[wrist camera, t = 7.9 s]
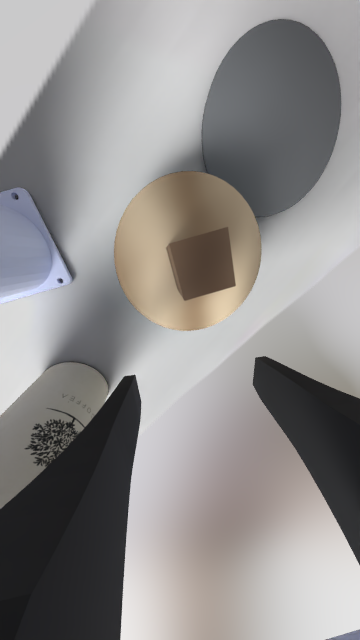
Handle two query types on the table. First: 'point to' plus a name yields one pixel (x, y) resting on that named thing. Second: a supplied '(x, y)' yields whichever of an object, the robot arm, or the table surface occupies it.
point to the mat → (272, 115)
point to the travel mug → (46, 422)
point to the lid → (187, 250)
